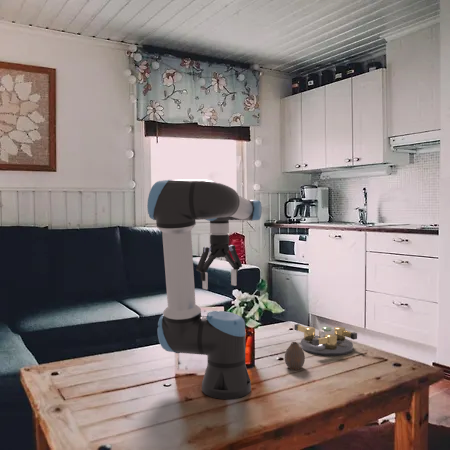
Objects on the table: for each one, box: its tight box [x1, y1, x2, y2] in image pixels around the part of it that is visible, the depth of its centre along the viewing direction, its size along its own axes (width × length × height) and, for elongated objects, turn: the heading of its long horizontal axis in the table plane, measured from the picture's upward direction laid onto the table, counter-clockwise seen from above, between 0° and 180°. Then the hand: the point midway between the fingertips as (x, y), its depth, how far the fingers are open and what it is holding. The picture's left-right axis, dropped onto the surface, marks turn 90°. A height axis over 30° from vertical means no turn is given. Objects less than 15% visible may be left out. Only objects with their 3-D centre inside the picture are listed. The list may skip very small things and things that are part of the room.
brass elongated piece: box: [333, 326, 358, 341], centre depth 187 cm, size 11×4×4 cm, turn 31°
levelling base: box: [300, 326, 354, 357], centre depth 186 cm, size 20×20×8 cm
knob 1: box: [294, 323, 316, 341], centre depth 192 cm, size 11×4×4 cm, turn 31°
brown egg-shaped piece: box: [284, 341, 306, 371], centre depth 164 cm, size 7×7×9 cm
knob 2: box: [312, 334, 337, 349], centre depth 178 cm, size 11×4×4 cm, turn 121°
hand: (219, 287), depth 188 cm, fingers open, 13 cm apart
